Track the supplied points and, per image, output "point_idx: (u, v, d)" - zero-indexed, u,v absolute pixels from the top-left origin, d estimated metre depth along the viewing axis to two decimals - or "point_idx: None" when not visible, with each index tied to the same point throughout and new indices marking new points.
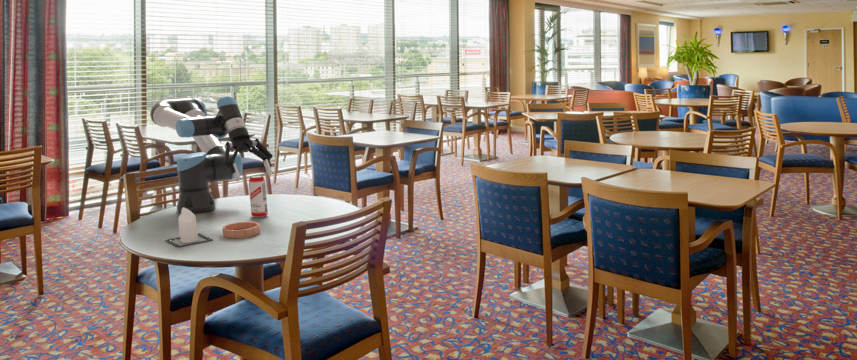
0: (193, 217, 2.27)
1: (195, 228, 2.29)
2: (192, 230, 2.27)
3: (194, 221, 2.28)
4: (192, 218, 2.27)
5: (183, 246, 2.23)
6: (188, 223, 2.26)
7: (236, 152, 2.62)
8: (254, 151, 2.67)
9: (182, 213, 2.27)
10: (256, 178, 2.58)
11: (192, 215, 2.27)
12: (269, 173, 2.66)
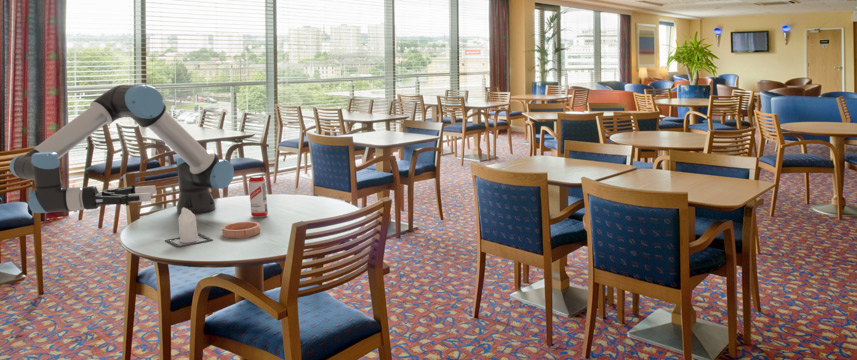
0: (193, 217, 2.27)
1: (195, 228, 2.29)
2: (192, 230, 2.27)
3: (194, 221, 2.28)
4: (192, 218, 2.27)
5: (183, 246, 2.23)
6: (188, 223, 2.26)
7: None
8: None
9: (182, 213, 2.27)
10: (256, 178, 2.58)
11: (192, 215, 2.27)
12: None
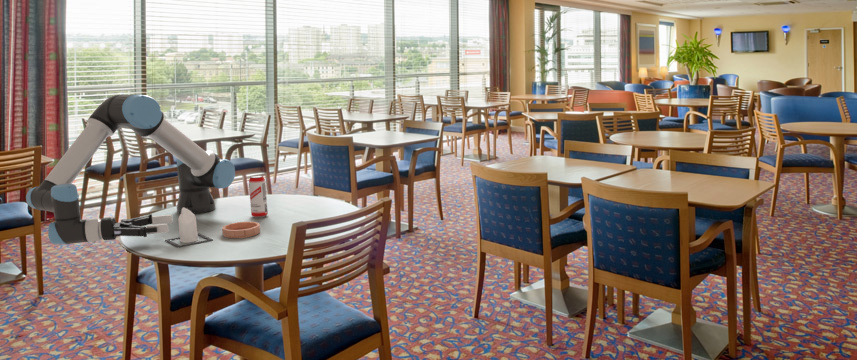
0: (193, 217, 2.27)
1: (195, 228, 2.29)
2: (192, 230, 2.27)
3: (194, 221, 2.28)
4: (192, 218, 2.27)
5: (183, 246, 2.23)
6: (188, 223, 2.26)
7: None
8: None
9: (182, 213, 2.27)
10: (256, 178, 2.58)
11: (192, 215, 2.27)
12: None
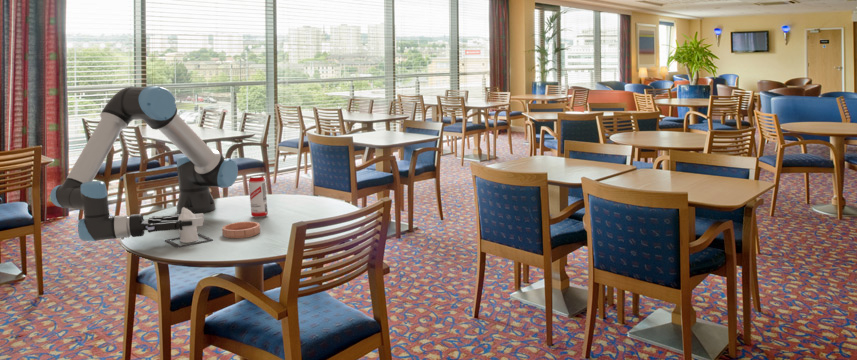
0: (193, 217, 2.27)
1: (195, 228, 2.29)
2: (192, 230, 2.27)
3: None
4: None
5: (183, 246, 2.23)
6: None
7: None
8: None
9: (182, 213, 2.27)
10: (256, 178, 2.58)
11: (192, 215, 2.27)
12: None
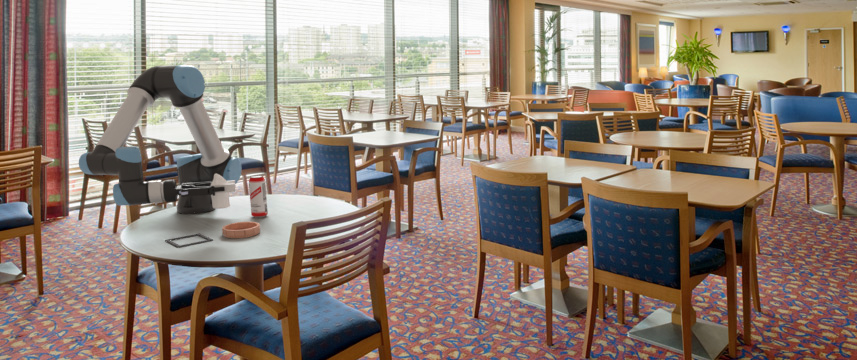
0: (225, 183, 2.29)
1: (227, 194, 2.30)
2: (224, 196, 2.29)
3: None
4: None
5: (183, 246, 2.23)
6: None
7: None
8: None
9: (214, 179, 2.29)
10: (256, 178, 2.58)
11: (224, 181, 2.29)
12: None
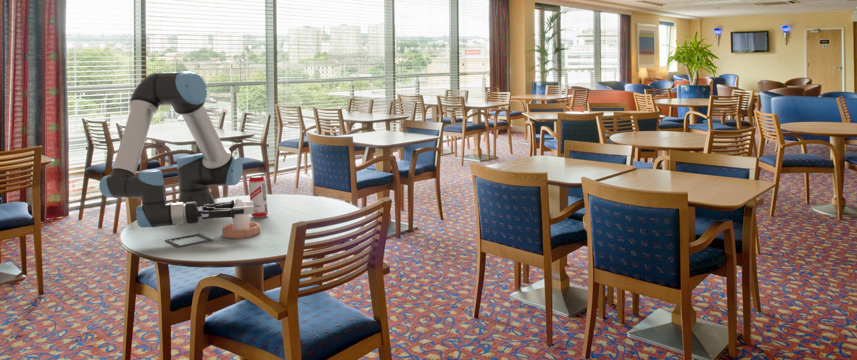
0: None
1: (248, 219, 2.36)
2: (245, 222, 2.34)
3: None
4: None
5: (183, 246, 2.23)
6: (242, 215, 2.33)
7: None
8: None
9: (236, 205, 2.34)
10: (256, 178, 2.58)
11: None
12: None
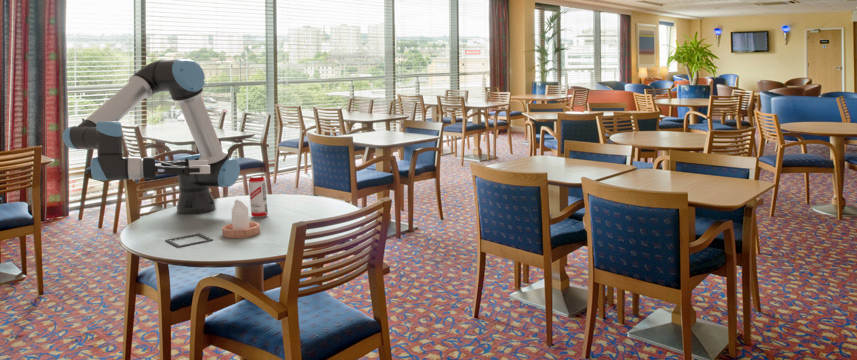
0: (246, 209, 2.34)
1: (248, 220, 2.35)
2: (245, 222, 2.34)
3: (247, 213, 2.35)
4: (245, 210, 2.34)
5: (183, 246, 2.23)
6: (241, 215, 2.33)
7: None
8: None
9: (235, 205, 2.34)
10: (256, 178, 2.58)
11: (245, 207, 2.34)
12: None
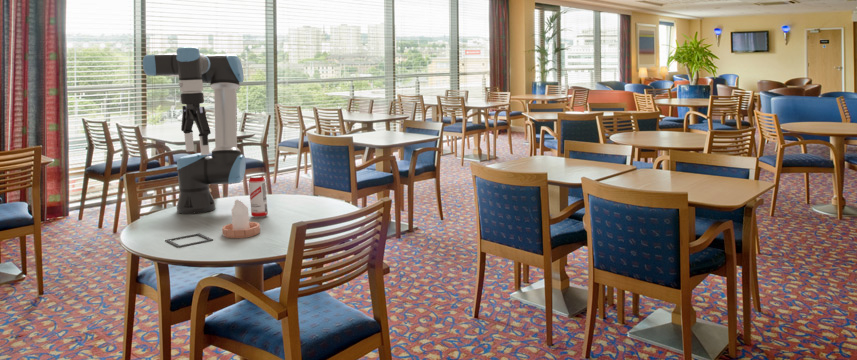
0: (246, 209, 2.34)
1: (248, 220, 2.35)
2: (245, 222, 2.34)
3: (247, 213, 2.35)
4: (245, 210, 2.34)
5: (183, 246, 2.23)
6: (241, 215, 2.33)
7: (186, 120, 2.37)
8: None
9: (235, 205, 2.34)
10: (256, 178, 2.58)
11: (245, 207, 2.34)
12: None
